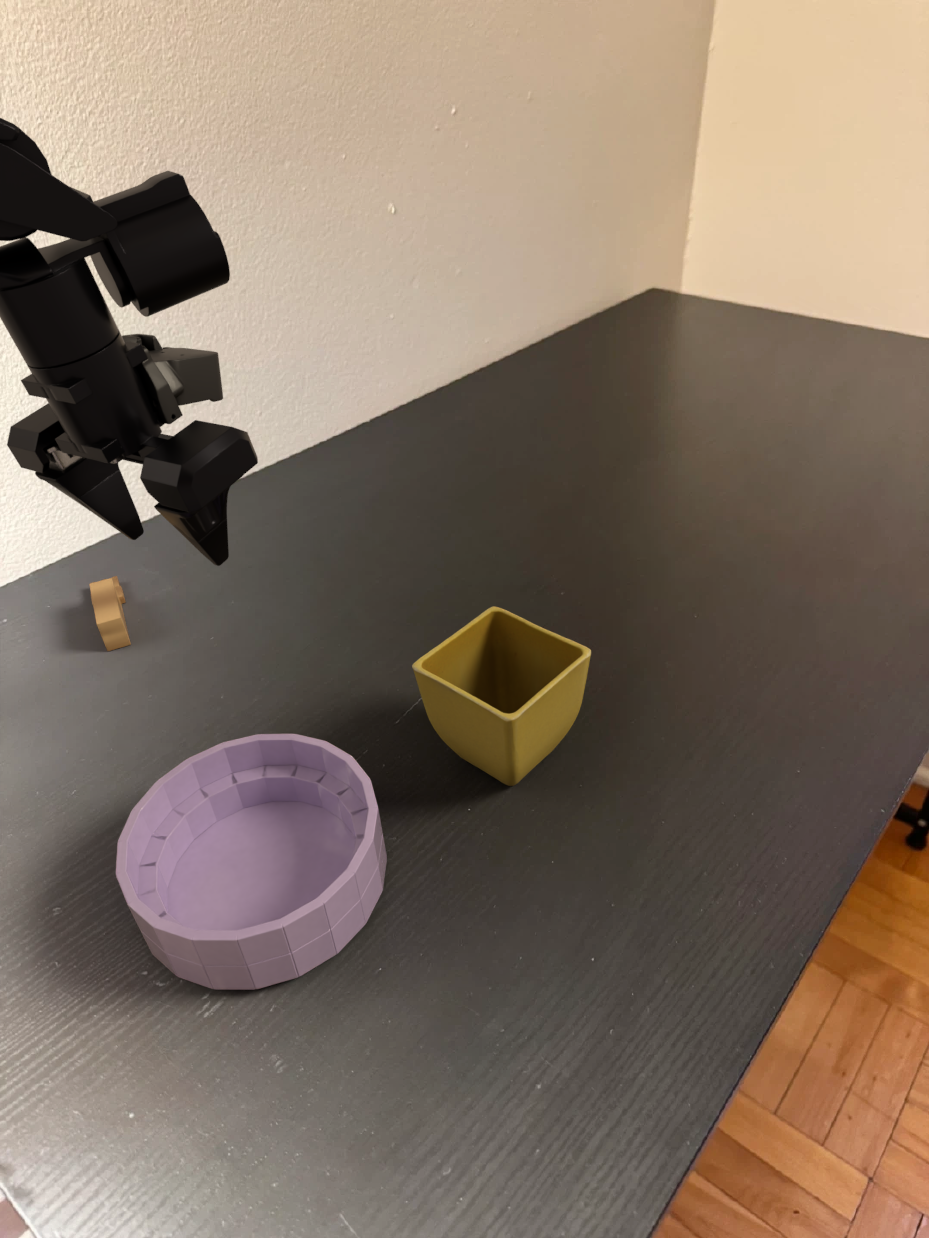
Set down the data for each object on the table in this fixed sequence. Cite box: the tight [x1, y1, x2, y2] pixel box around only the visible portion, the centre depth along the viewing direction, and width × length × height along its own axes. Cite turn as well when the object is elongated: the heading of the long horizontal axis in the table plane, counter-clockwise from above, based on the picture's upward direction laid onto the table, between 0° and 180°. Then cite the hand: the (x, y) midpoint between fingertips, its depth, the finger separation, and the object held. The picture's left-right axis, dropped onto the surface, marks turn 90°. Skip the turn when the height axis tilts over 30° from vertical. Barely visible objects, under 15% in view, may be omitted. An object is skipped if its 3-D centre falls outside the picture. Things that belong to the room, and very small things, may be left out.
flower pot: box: [411, 605, 592, 787], centre depth 58 cm, size 9×9×9 cm
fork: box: [88, 575, 132, 652], centre depth 77 cm, size 11×3×3 cm, turn 25°
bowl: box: [115, 733, 388, 991], centre depth 52 cm, size 15×15×6 cm
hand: (178, 548), depth 61 cm, fingers open, 9 cm apart
